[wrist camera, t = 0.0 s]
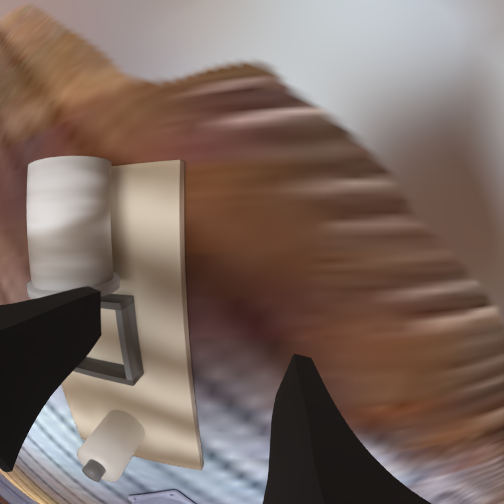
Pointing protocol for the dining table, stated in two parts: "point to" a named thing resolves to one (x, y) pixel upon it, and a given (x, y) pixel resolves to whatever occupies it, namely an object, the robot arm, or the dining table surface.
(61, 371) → the robot arm
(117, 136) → the dining table surface
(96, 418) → the motor mount
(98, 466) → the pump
